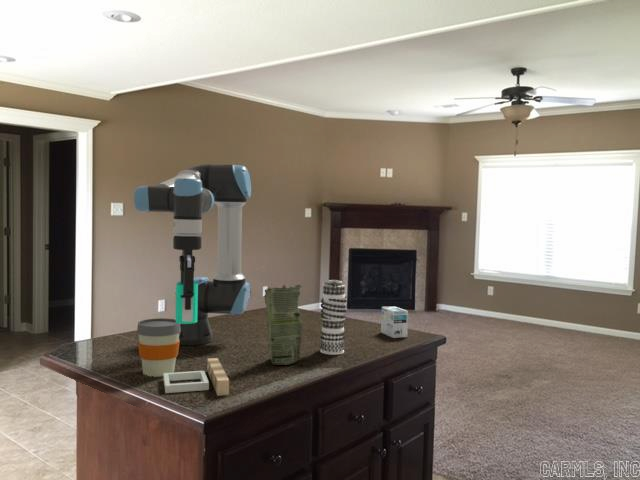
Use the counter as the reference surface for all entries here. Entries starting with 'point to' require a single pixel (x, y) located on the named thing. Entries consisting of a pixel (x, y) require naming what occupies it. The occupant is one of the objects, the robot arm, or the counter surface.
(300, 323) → the pouch
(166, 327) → the reusable coffee cup
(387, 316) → the light bulb box
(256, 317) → the counter surface
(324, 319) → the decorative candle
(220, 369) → the edge strip
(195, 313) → the candle
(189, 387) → the frame
